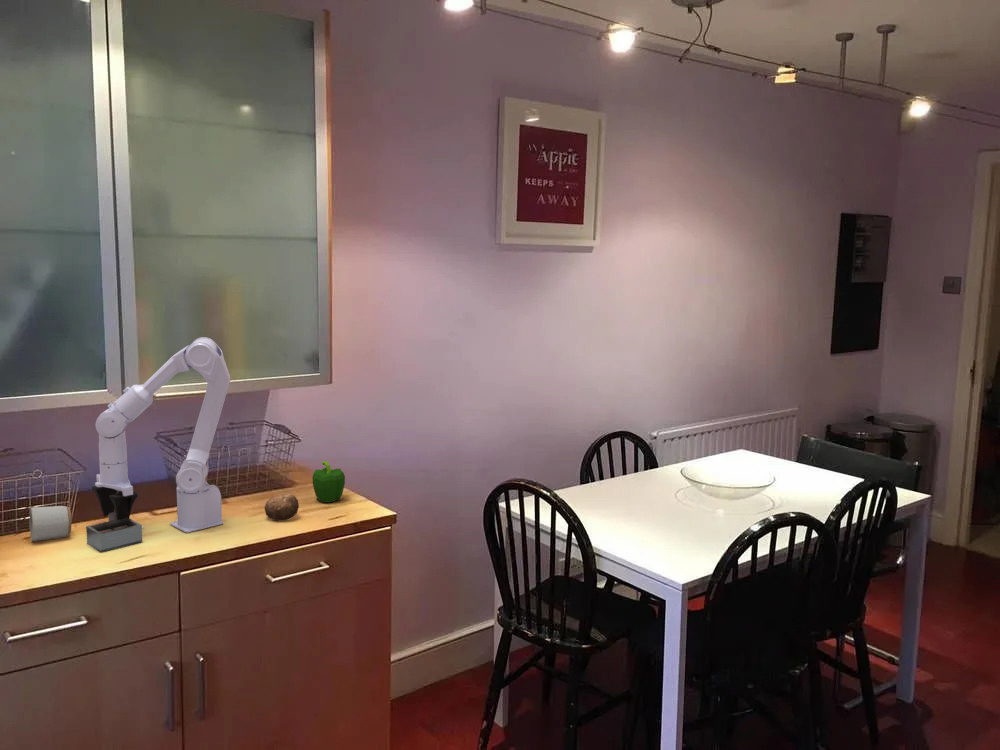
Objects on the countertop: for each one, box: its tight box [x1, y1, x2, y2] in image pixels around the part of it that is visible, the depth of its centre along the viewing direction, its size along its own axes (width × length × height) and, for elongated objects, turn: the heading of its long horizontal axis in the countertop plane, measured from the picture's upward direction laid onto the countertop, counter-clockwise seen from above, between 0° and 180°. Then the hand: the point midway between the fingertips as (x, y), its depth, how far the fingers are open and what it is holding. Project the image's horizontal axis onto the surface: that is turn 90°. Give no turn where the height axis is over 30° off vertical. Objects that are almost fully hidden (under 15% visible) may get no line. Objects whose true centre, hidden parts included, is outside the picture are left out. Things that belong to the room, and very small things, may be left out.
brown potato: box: [264, 493, 300, 522], centre depth 203 cm, size 8×8×6 cm
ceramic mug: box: [29, 505, 72, 542], centre depth 185 cm, size 10×8×7 cm
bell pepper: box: [312, 461, 346, 503], centre depth 217 cm, size 8×8×10 cm
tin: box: [85, 517, 143, 553], centre depth 183 cm, size 9×7×4 cm
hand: (115, 519), depth 191 cm, fingers open, 7 cm apart
